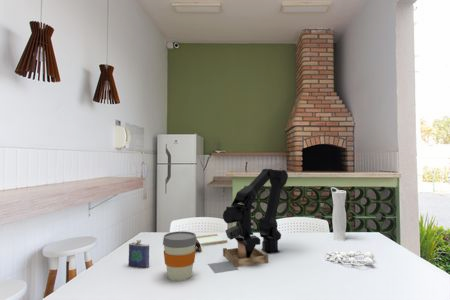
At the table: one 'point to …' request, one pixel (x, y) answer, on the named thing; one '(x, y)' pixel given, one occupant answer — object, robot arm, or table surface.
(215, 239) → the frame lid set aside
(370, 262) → the tangled rod sculpture
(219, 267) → the slate mat
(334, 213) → the white water bottle
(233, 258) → the brown wooden tray
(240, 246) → the terracotta pot
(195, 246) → the brown creature figurine
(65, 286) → the table surface
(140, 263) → the flask
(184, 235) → the reusable coffee cup
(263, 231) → the robot arm
